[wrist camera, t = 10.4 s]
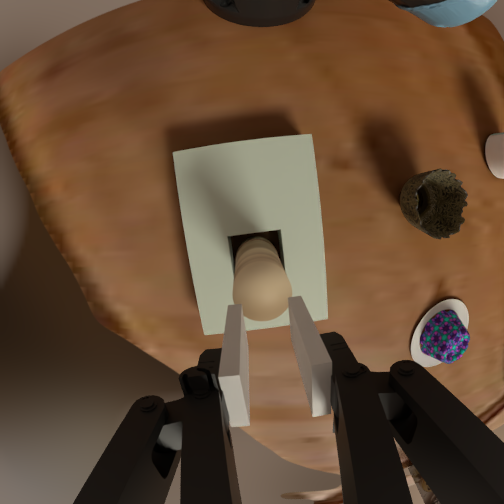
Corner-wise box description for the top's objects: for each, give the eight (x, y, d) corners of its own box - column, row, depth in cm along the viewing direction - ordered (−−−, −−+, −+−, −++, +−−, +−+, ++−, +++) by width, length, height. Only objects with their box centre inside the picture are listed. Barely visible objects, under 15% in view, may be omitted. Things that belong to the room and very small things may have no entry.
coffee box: (434, 444, 45) (463, 491, 29) (446, 446, 46) (474, 489, 30) (406, 468, 47) (429, 516, 31) (420, 470, 48) (443, 513, 32)
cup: (422, 234, 34) (458, 247, 26) (377, 218, 34) (410, 229, 26) (435, 181, 33) (473, 183, 25) (392, 161, 32) (427, 158, 24)
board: (181, 155, 32) (172, 152, 28) (304, 139, 31) (311, 134, 28) (208, 319, 36) (204, 334, 32) (319, 305, 36) (327, 318, 32)
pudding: (420, 376, 40) (434, 394, 35) (398, 330, 38) (415, 348, 33) (471, 333, 39) (488, 346, 33) (456, 281, 36) (477, 293, 31)
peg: (234, 234, 34) (226, 268, 20) (272, 229, 34) (290, 260, 20) (239, 270, 35) (236, 325, 21) (276, 266, 35) (295, 317, 21)
